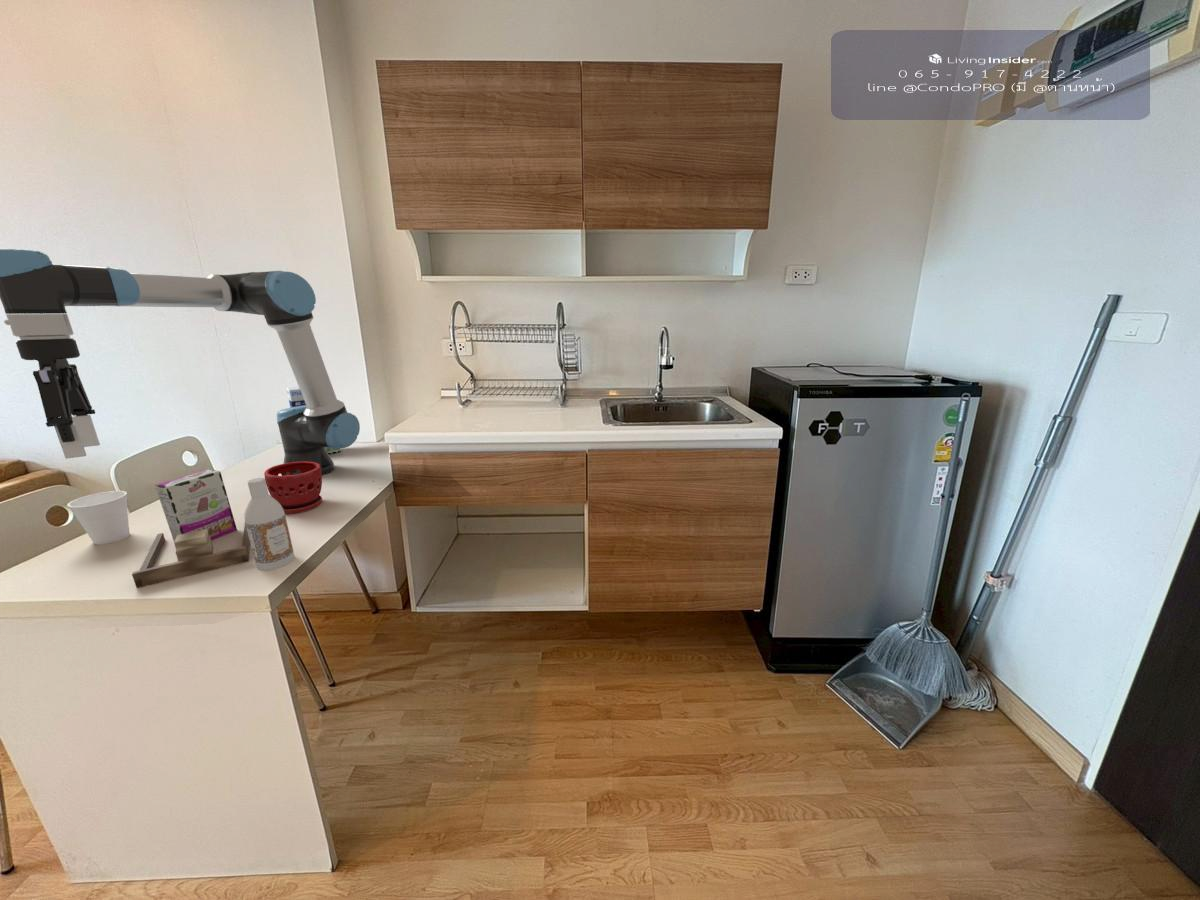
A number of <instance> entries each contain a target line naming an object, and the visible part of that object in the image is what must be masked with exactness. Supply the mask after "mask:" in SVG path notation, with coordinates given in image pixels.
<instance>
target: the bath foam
mask: <svg viewBox="0 0 1200 900" xmlns="http://www.w3.org/2000/svg"><path fill="white" fill-rule="evenodd" d="M247 487H248V490H249V493H250V494H249V495H250V500H249V502H248V503H247V506H246V508H245V511H244V525H245V524H246V528H247V532H248V536H249V540H250V549H251V550H252V555H253V559H254V563H255V566H256V569H257V570H259V571H266V572H267V571H274V570H278V569H281V568H284V567H286V566H288V565H290V564H291V563H294V561H295V559H296V558H295V553H294V548H293V543H292V539H291V535H290V531H289V526H288V521H287V518H286V514H285V512H284V510H283V508H282V506H281V505H280V503H279V502H278V501H276V500H275V499H274V498H273V497H271V495H270V493H269V491H268V488H267V485H266V481H265V477H256V478H255V477H254V478H251V479H248V480H247Z"/></svg>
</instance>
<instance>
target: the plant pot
mask: <svg viewBox="0 0 1200 900" xmlns="http://www.w3.org/2000/svg"><path fill="white" fill-rule="evenodd" d="M294 470H299V471H300V472H301V474H296V475H293V471H294ZM287 472H290V474H289V475H286V473H287ZM279 474H280V475H279ZM263 475H264V479H265V482H266V486H267V490H268V494H269V495H270V496H271V497H273V498H274V499H275V500H276V501H278V502H279V503H280V505H281V506H282V508H283V510H284V512H285V515H292V514H300V513H303V512H308V511H311V510H313V509H315V508H317V507H318V506H319V505H320V504H321V503H322V501H323V497H322V496H321V495H320V494H321V491H322V487H323V476H322V472H321V467H320V465H319V464H318V463H315V462H306V461H304V462H290V463H285V464H283V463H281V464H277V465H273V466H271V467H269V468H267V469H266V470H265V471H264V473H263Z"/></svg>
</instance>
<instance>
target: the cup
mask: <svg viewBox="0 0 1200 900" xmlns="http://www.w3.org/2000/svg"><path fill="white" fill-rule="evenodd" d="M127 495H128V492H127V491H125V490H124V491H123V490H112V491H111V490H109V491H102V492H96V493H92V494H87V495H85V496H82V497H78V498H76V499H75V498H74V499H73V500H71V501H70V502H68V503H67V505H66V506H67V508H69V509H70V511H71V512H72V513H73V515H74V517H75V518H76V519H77V521H78V522H79V524H80V525H81V526H82V528H83V529H84V531H85V532H86V534H87V535H88V537H89V538H90V539H91V540H90V541H91V542H92V543H93V544H94V545H106V544H111V543H115V542H118V541H121V540H124V539H126V538H128V537H129V536H130V535H131V533H130V526H129V525H130V524H129V515H128V514H129V513H128V500H127Z"/></svg>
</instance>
